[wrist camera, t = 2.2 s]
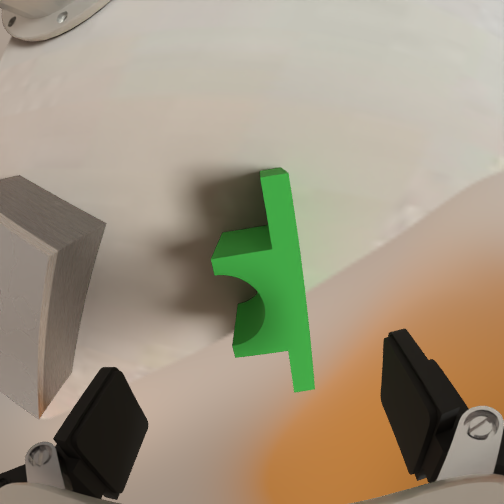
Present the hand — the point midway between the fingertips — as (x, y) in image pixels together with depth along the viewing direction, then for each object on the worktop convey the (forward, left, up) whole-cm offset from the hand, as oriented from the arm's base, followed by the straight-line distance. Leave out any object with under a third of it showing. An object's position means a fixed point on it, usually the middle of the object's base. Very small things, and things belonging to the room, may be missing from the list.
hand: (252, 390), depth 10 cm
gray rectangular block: (-2, -16, -9) cm, 18 cm away
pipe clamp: (-1, +1, -9) cm, 9 cm away
